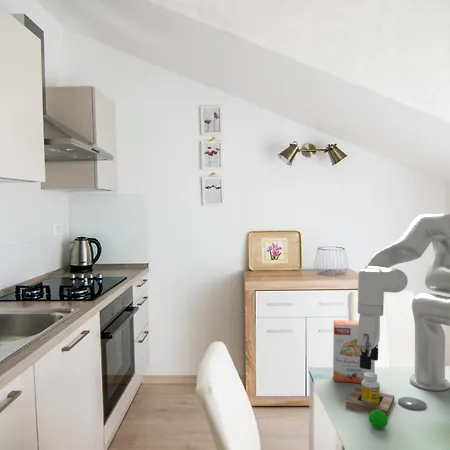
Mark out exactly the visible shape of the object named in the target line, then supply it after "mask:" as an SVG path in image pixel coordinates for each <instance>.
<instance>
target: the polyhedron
mask: <svg viewBox="0 0 450 450" xmlns="http://www.w3.org/2000/svg"><path fill="white" fill-rule="evenodd" d="M368 414H369V413H368ZM368 421H369V423H370V426H372V427H374V428H376V429H377V430H381V429H385V428H386V427H387V426H388V424H389V418H388V417H387V416H386V414H385V413H384V412H383V411H381V410H379V409H377V410H373V411H372V412H371V413H370V414H369V415H368Z"/></svg>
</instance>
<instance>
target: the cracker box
mask: <svg viewBox="0 0 450 450" xmlns="http://www.w3.org/2000/svg"><path fill="white" fill-rule="evenodd" d="M358 324H359V320H358V321H354V320H340V319H334V320H333V343H332V345H333V347H332V348H333V350H332V351H333V359H332V360H333V361H332V365H333V367H332V376H333V381H334V382H343V383H344V382H345V383H352V384H353V383H354V384H362V380H364V373H366V372H371V373H375V367H376V365H375V363H376V360H371V369H370V370H368V369H363V368H360V350H361V346H360V347H359V346H358V345H357V338H358ZM368 346H369V345H368ZM367 350H368V349H367ZM375 374H376V373H375Z"/></svg>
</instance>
